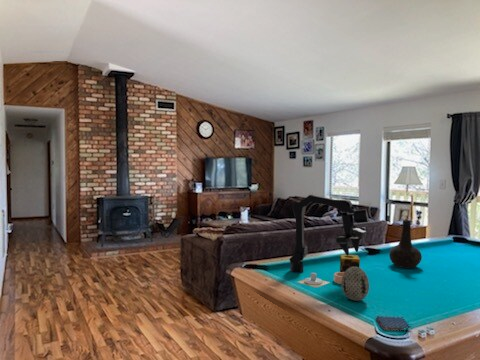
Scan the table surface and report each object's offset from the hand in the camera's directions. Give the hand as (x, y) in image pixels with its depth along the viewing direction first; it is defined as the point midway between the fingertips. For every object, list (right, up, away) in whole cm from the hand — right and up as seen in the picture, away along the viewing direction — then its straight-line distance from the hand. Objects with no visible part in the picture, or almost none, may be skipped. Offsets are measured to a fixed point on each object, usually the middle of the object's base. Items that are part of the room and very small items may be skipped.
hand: (352, 253), depth 196 cm
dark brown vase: (+41, -14, +31) cm, 53 cm away
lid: (-21, -13, -6) cm, 26 cm away
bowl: (-6, -14, -5) cm, 16 cm away
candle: (+2, -14, +12) cm, 18 cm away
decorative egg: (-7, -15, -29) cm, 33 cm away
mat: (-21, -14, -6) cm, 26 cm away
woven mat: (-1, -17, -55) cm, 57 cm away
